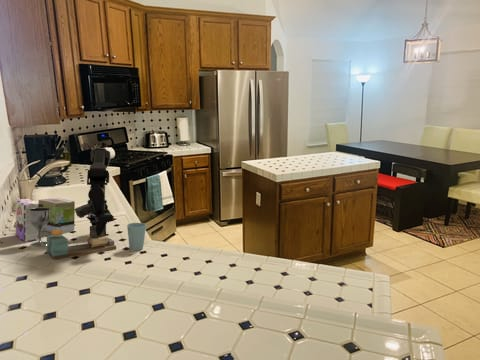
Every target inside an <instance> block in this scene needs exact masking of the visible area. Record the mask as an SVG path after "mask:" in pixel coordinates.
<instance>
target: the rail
mask: <svg viewBox="0 0 480 360" xmlns="http://www.w3.org/2000/svg"><path fill="white" fill-rule="evenodd" d="M46 242H47V245H46V250H45V251H46V254H47V255H49V256H50V258H51V259H53V260H54V259H56V260H61V259H65V258H67V259H68V258H72V257H78V256H84V255H89V254H95V253H102V252H107V251H113V250H117V245H115V240H113V239H112V238H110V237H108V243H107V245H105V246H98V247H91V244H90V243H89V244H88V242H87V243H82V244H75V245H74V244H73V245H69V243H68V242H69V239H68V237H65V236H64V235H63V234H62V235H58V236H54V235H52V234H48V235H46Z"/></svg>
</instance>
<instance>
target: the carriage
mask: <svg viewBox="0 0 480 360" xmlns="http://www.w3.org/2000/svg"><path fill="white" fill-rule="evenodd" d="M108 238H109V237H108V236H107V235H105V227H104V229H103V231H102V233H101V235H100V236H97V230H96V225H95V226H92V225H89V234H88V235H86V242H87V243H88V244H89V243H90V244H91V247H98V246H105V245H107V243H108Z"/></svg>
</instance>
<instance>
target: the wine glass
mask: <svg viewBox="0 0 480 360" xmlns="http://www.w3.org/2000/svg"><path fill="white" fill-rule="evenodd" d="M50 213H51V209H50V208H47V207H37V208H31V209H29V219H30V222H31V224H32V225H33V226H34V227H35V228H36V229H37V230H38V240H37V241H34V242H32V243H29V246H31V247H35V248H36V247H37V248H38V247H45V246H46V247H47V241H43V240H42V231H43V230H42V229H43V228H44V227H45V226H46V225H47V223H48V222H49V219H50Z"/></svg>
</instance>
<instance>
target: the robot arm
mask: <svg viewBox="0 0 480 360" xmlns="http://www.w3.org/2000/svg"><path fill="white" fill-rule="evenodd" d="M90 160H91V161H92V163H91V164H90V165H89V169H87V174H86V175H87V178H86V186H90V187H89V190H88V193H87V196H88V200H87V204H82V205H81V206H78V207H75V214H76V216H77V217H78V218H80V219H82V218H86V219H87V220H89V223H90V224H91V226H95V225H96V230H97V236H100V235H101V233H102V231H103V229H104V227H105V234H106V232H107V224H108V223H111V222H114V221H115V220H114V219H115V217H114V215H113V214H111V211H110V209H109V206H108V205H107V204H108V200H107V199H106V186H108V184H109V183H110V172H109V170H108V169H107V168H108V167H109V165H110V162H111V151H109V150H107V148H105V147H94V148H93V150H91V151H90Z"/></svg>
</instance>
